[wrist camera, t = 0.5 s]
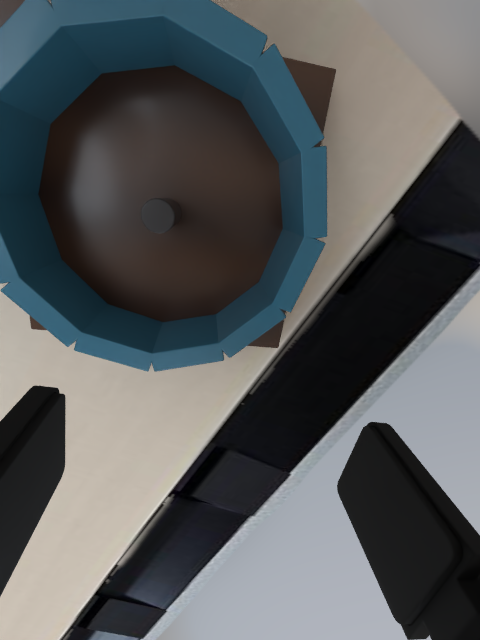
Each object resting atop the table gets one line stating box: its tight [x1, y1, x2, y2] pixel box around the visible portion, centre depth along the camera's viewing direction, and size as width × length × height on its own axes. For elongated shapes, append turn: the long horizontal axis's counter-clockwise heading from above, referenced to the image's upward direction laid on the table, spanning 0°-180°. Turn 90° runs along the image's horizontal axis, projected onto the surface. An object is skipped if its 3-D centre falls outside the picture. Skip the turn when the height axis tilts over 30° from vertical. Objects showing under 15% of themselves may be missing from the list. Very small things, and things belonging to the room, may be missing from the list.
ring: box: [0, 0, 327, 372], centre depth 16 cm, size 17×17×4 cm
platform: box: [0, 0, 336, 348], centre depth 17 cm, size 17×17×6 cm
